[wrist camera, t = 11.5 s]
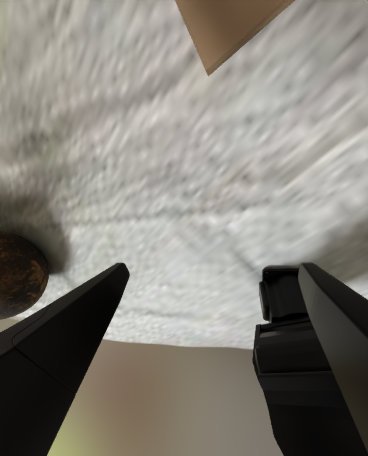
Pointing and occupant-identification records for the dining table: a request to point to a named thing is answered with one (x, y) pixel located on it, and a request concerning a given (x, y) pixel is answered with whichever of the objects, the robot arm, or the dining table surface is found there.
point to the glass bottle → (20, 275)
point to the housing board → (226, 25)
